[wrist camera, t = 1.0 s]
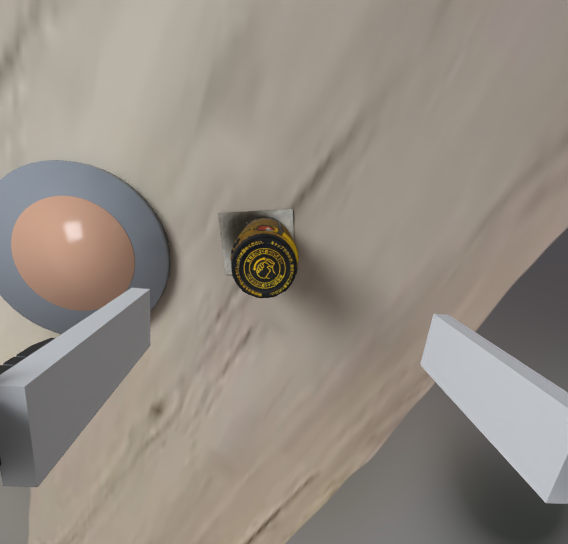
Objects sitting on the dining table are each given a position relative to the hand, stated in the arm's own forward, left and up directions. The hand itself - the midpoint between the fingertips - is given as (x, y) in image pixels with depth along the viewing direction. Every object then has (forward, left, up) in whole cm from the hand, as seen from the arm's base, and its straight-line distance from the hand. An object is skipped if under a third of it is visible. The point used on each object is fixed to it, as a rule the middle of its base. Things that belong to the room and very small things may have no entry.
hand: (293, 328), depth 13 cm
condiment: (0, -2, -22) cm, 22 cm away
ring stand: (+4, -22, -21) cm, 31 cm away
